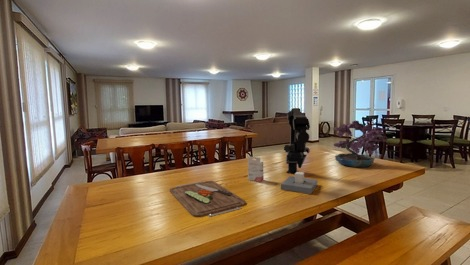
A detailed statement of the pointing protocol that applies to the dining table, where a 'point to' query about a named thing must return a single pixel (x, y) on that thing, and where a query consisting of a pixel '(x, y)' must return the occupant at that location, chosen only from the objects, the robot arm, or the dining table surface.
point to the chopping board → (206, 198)
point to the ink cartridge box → (255, 169)
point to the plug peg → (299, 177)
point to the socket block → (299, 185)
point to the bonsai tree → (358, 144)
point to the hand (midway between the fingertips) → (299, 167)
